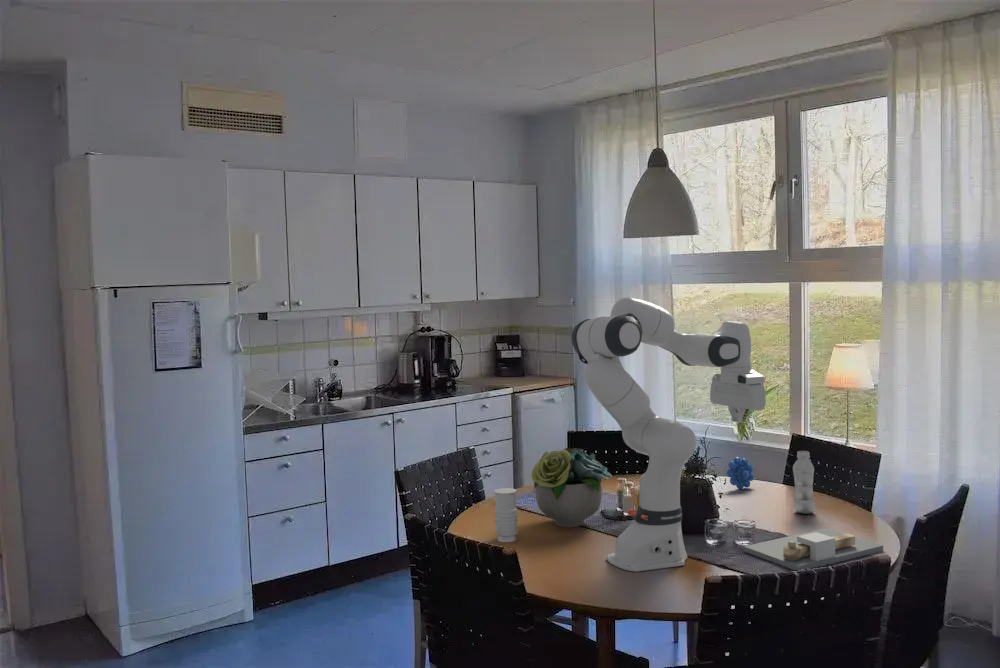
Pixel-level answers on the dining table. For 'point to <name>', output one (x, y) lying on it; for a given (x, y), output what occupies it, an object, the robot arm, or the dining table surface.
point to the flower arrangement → (568, 485)
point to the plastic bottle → (803, 483)
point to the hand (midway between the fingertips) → (737, 421)
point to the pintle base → (805, 561)
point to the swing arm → (804, 549)
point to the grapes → (740, 473)
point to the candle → (506, 514)
